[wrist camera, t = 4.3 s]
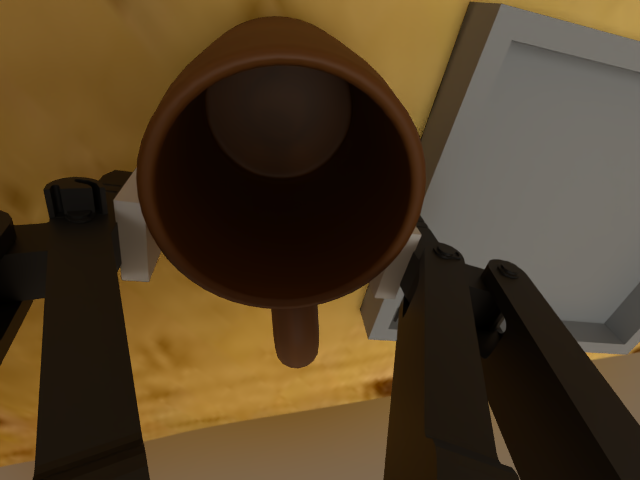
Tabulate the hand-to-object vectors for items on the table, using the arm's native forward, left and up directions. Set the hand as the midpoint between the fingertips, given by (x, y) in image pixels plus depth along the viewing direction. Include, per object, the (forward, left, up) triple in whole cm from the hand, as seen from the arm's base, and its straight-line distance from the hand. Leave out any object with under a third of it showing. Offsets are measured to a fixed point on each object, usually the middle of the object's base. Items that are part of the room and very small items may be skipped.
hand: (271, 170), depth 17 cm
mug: (+1, 0, -2) cm, 2 cm away
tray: (+17, -1, -2) cm, 18 cm away
